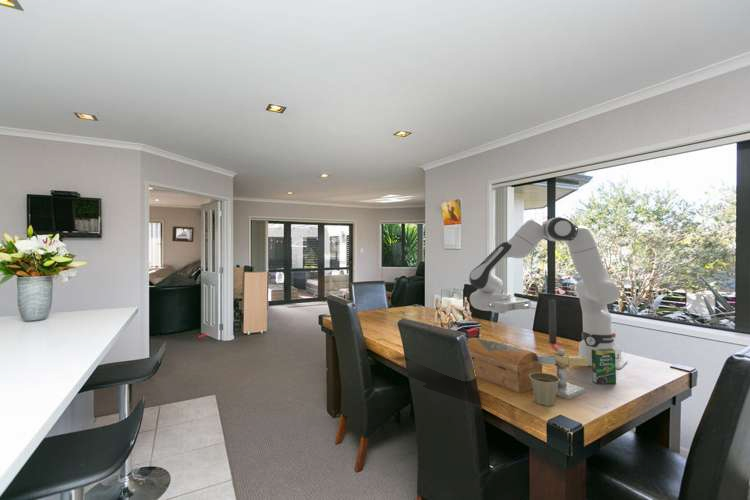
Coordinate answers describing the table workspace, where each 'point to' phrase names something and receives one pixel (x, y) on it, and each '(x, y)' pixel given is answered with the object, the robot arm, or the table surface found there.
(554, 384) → the flower pot
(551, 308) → the valve lever
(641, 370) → the table surface
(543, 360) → the standpipe valve
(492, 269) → the robot arm
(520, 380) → the wooden box
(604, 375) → the coffee box
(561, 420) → the table surface
